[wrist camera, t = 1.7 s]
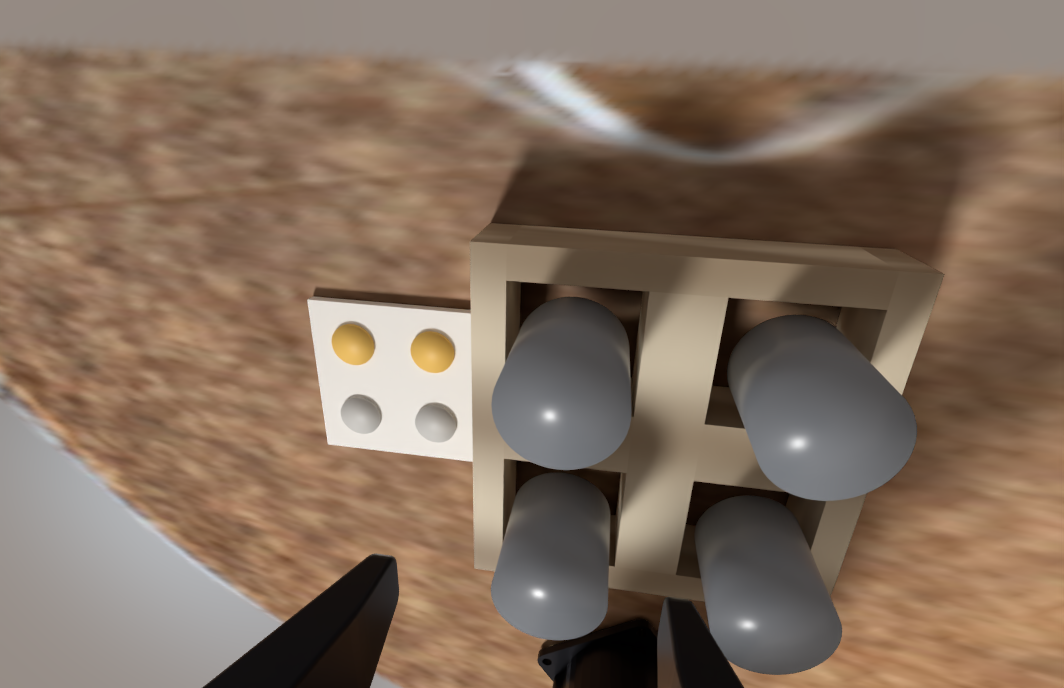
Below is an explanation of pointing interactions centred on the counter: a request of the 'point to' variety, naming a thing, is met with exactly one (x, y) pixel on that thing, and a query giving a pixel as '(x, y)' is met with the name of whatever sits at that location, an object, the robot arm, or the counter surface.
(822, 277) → the button board
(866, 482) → the button
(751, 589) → the button
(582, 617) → the button
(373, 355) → the pattern tile
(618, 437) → the button
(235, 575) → the counter surface
